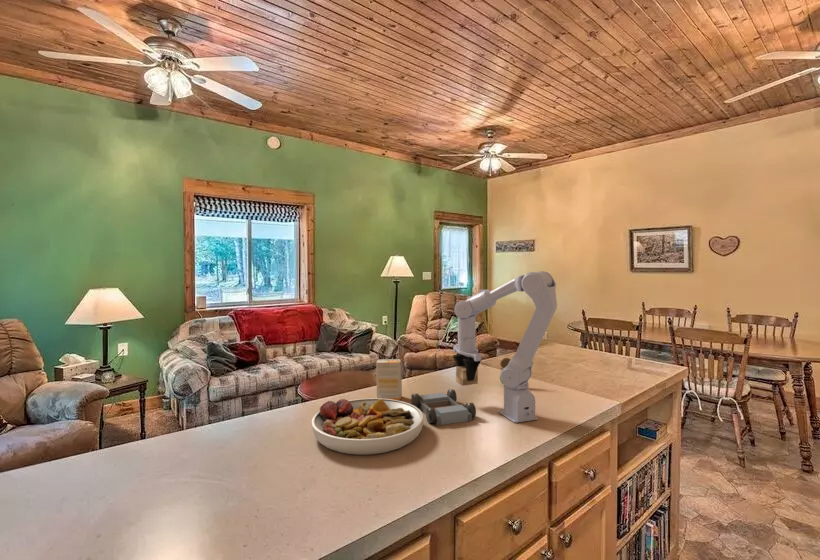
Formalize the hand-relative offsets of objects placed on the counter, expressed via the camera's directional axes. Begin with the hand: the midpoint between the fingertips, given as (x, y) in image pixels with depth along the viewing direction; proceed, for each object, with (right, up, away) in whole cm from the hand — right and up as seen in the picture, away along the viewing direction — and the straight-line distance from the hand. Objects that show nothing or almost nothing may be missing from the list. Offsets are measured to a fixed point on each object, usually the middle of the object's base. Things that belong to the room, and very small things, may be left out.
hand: (466, 378), depth 134 cm
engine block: (0, -2, 0) cm, 2 cm away
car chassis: (-9, -9, -7) cm, 14 cm away
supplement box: (-26, -9, +7) cm, 28 cm away
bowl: (-30, -10, -22) cm, 38 cm away
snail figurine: (+18, -8, +20) cm, 28 cm away
